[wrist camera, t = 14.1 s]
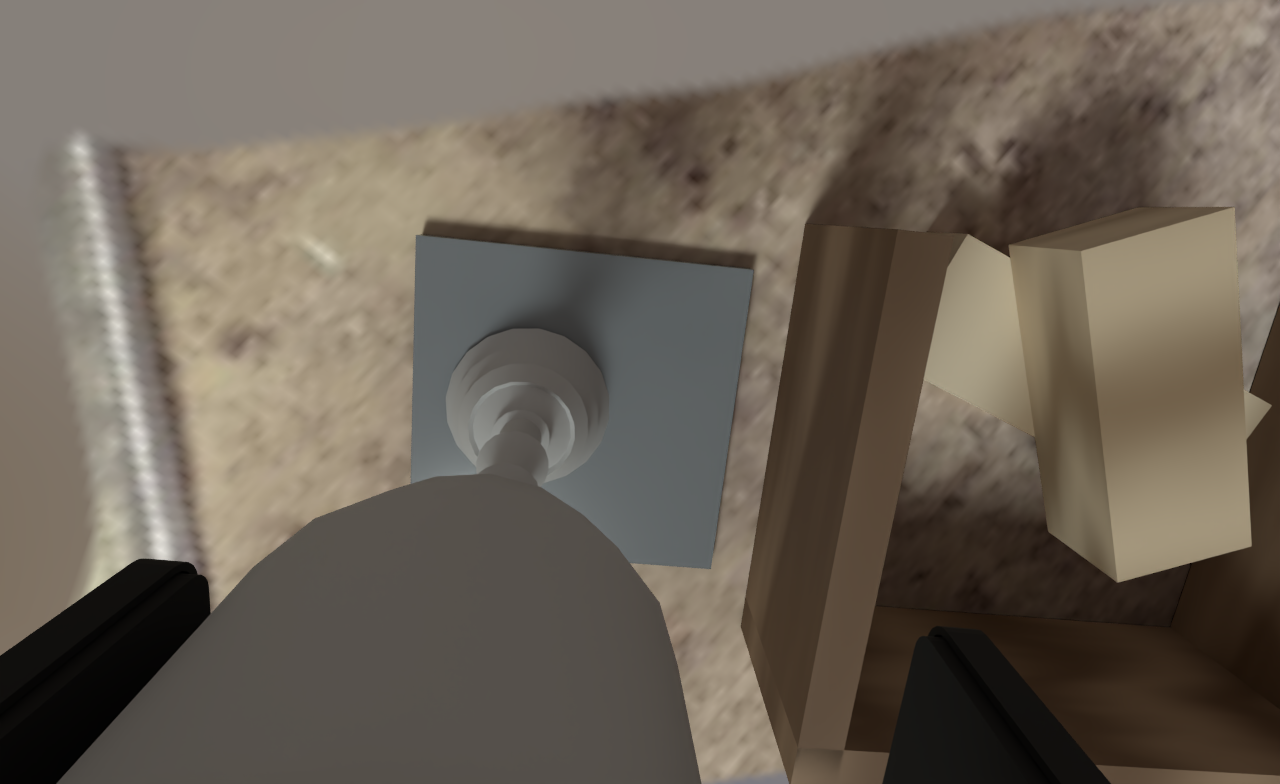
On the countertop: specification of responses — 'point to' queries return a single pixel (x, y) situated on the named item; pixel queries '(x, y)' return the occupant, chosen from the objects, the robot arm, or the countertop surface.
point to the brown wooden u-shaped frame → (1036, 647)
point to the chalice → (433, 625)
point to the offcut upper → (1138, 386)
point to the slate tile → (630, 365)
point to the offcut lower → (993, 338)
